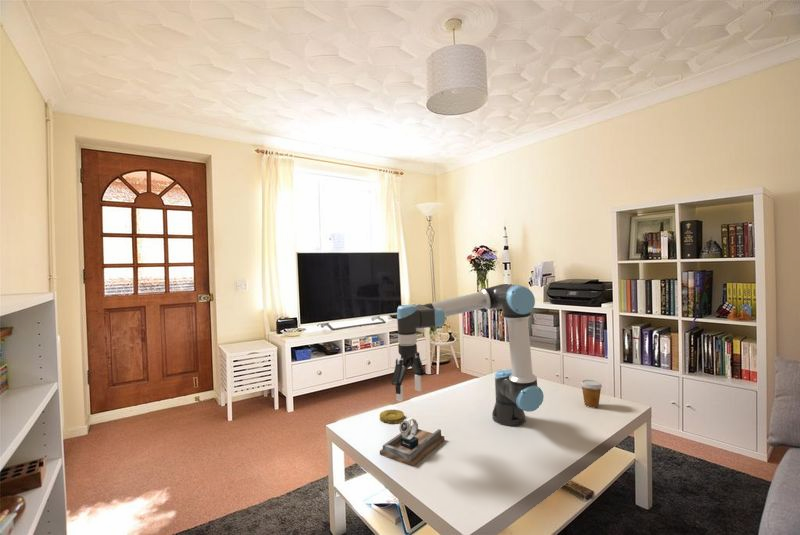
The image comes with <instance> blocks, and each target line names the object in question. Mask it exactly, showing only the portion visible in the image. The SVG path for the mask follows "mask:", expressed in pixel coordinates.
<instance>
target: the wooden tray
mask: <svg viewBox="0 0 800 535" xmlns="http://www.w3.org/2000/svg"><path fill="white" fill-rule="evenodd" d="M411 429H412V425H411ZM410 432H411V430H410V431H409V432H408V434H409V435H410V434H411V433H410ZM408 434H407V435H408ZM414 437H416V438H418V446H416V447H415V448H414V449H412V450H410V449H408V448H405V447H403V446H401V438H402V435H401V433H399V434H397V435H396V436H394V437H393V438H391V439H390V440H389V441H387V442H386V443H384V444H383V445H382V448H381V449H380V450H379V455H380V454H381V456H383V455H384V456H383V457H386V458H389V459H392V460H395V461H397V462H401V463H403V464H406V465H410V466H412V467H415V466H416V465H418V463H419V462H420V461H421V460H423V459H424V458H425V457H427V456H428V455H429V454H430V453H432V451H434V449H436V448H437V447H438V446H439V445H440V444H441V443H442V441H443V442H444V441H445V436H444V435H442V429H440V428H438V429H437V430H436V431H434V432H431V431H427V430H422V429H419V422H417V431H416V434H415V435H414Z"/></svg>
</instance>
